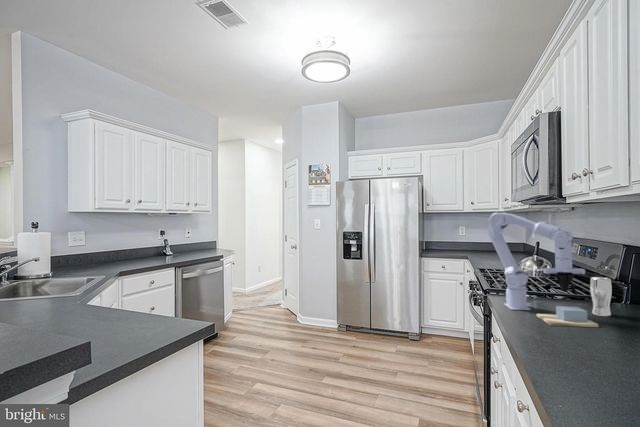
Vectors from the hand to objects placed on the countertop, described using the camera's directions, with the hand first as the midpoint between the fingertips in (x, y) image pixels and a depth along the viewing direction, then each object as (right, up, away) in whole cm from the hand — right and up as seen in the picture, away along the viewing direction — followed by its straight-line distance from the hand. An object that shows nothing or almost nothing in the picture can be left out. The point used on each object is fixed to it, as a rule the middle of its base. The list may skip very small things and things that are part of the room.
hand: (564, 291), depth 138 cm
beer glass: (+17, -10, +2) cm, 20 cm away
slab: (-6, -8, -6) cm, 11 cm away
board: (-4, -10, -6) cm, 13 cm away
